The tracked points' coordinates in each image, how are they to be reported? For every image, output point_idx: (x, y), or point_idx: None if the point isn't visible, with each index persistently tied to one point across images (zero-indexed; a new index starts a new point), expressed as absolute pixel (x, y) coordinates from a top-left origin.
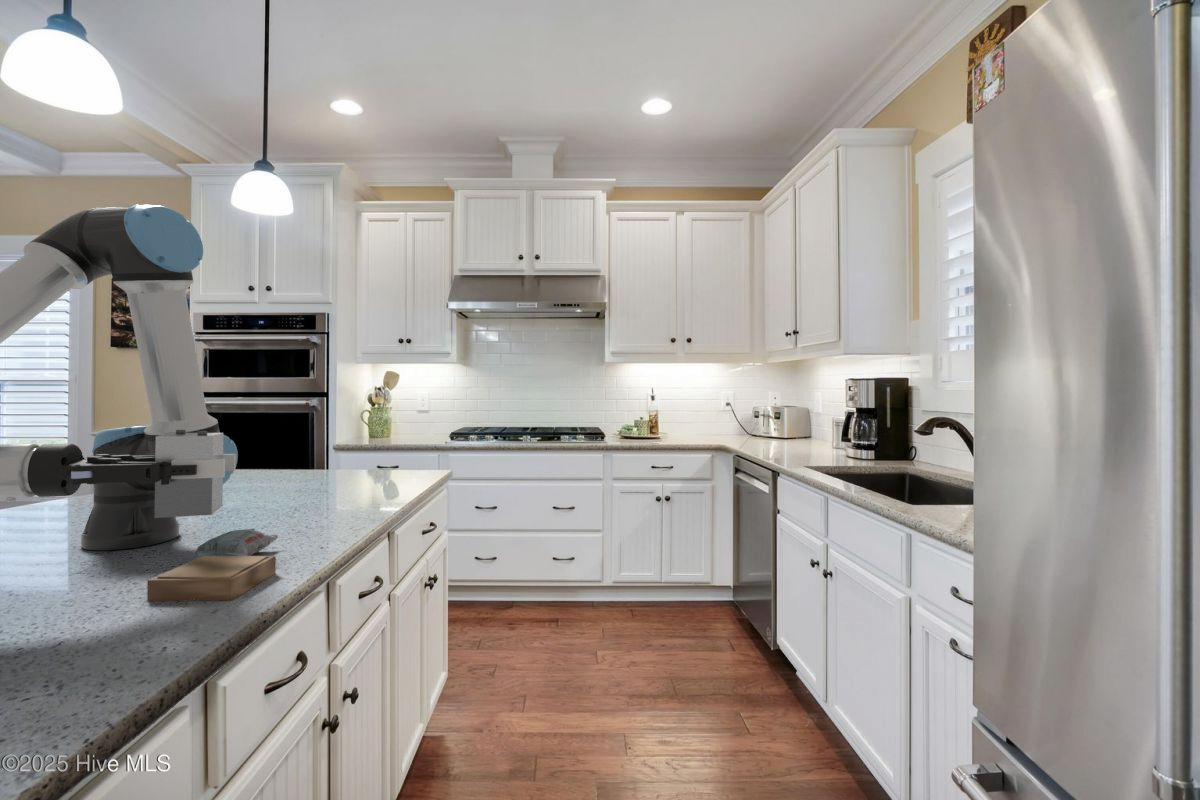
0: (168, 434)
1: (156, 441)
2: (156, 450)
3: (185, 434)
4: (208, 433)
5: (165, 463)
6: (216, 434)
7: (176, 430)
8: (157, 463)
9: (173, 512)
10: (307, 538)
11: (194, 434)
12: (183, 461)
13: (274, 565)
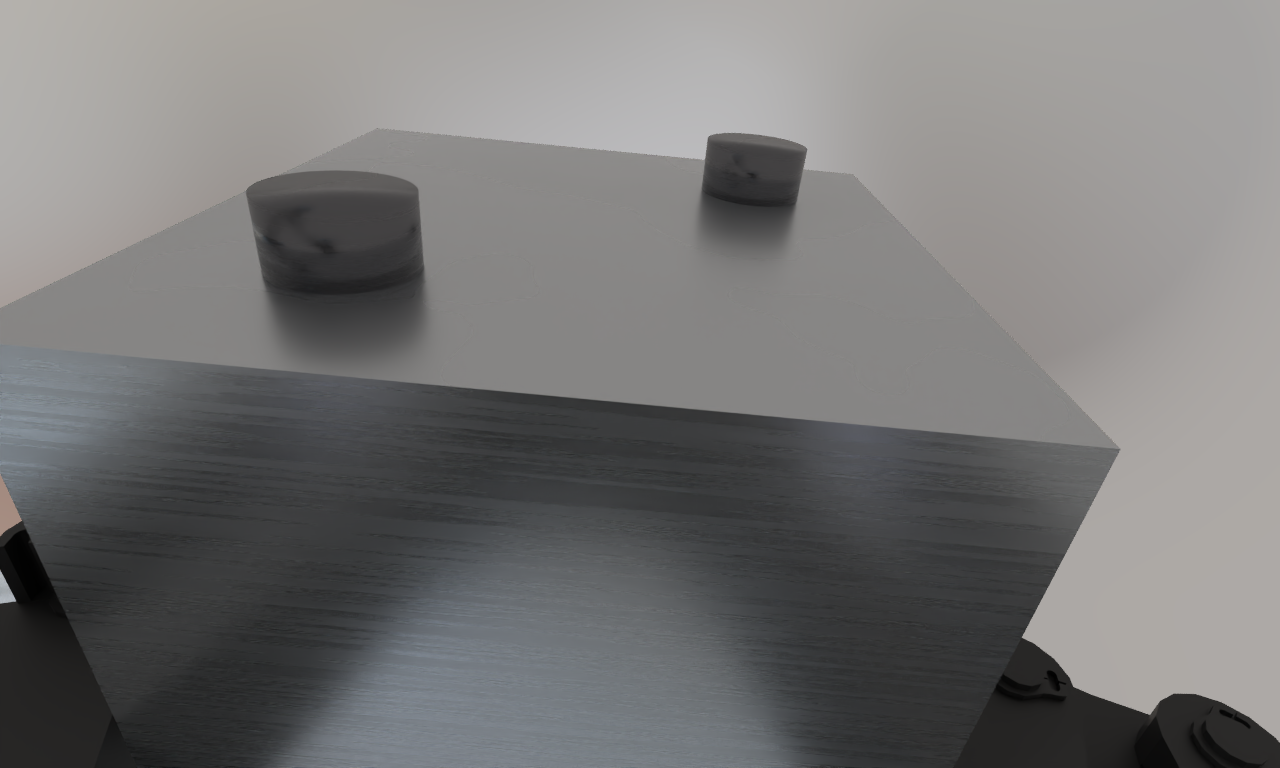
0: (486, 348)
1: (1058, 531)
2: (992, 662)
3: (574, 244)
4: (454, 164)
5: (1044, 662)
6: (650, 156)
7: (369, 219)
8: (1082, 745)
9: None
10: (6, 596)
11: (605, 210)
12: None
13: None
